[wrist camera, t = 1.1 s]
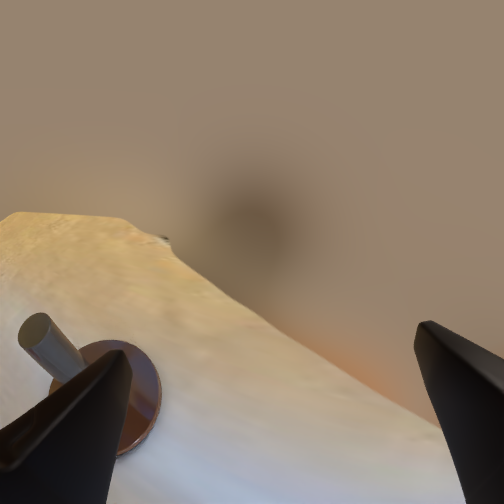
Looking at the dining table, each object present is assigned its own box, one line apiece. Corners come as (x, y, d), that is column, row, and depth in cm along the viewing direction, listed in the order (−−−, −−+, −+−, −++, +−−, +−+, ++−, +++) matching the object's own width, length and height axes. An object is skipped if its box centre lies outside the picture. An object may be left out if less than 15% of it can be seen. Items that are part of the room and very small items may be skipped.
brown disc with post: (131, 483, 18) (43, 445, 11) (37, 423, 21) (-41, 364, 14) (185, 365, 26) (139, 282, 19) (90, 333, 29) (37, 258, 22)
